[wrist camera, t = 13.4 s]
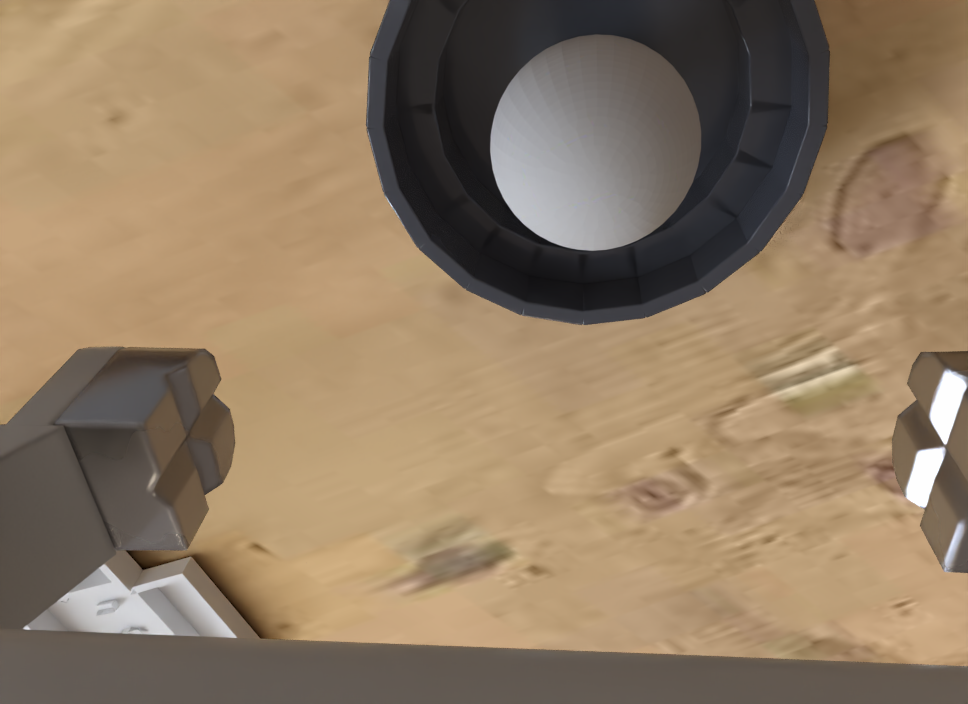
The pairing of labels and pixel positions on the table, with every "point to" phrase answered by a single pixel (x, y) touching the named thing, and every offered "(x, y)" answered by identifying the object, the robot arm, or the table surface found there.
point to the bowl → (709, 201)
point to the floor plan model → (146, 602)
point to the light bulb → (595, 142)
